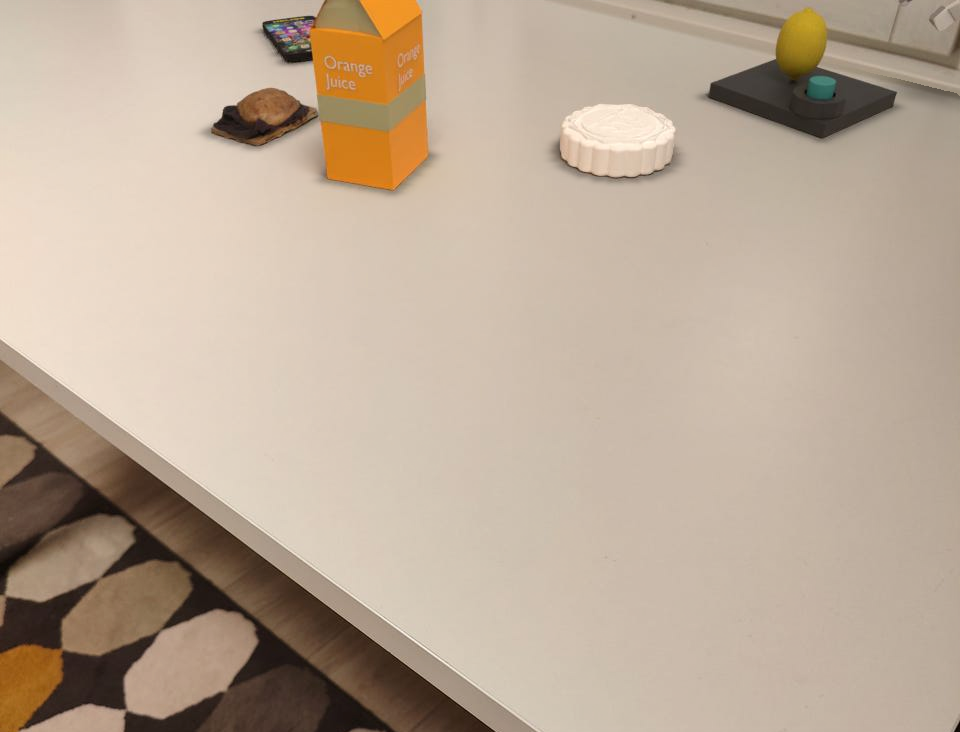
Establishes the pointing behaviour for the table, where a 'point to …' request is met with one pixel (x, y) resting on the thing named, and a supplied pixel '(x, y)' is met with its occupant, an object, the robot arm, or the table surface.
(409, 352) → the table surface
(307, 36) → the smartphone
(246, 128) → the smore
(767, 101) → the push button box
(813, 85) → the button
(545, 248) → the table surface
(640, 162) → the mooncake
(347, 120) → the orange juice
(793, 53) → the lemon
